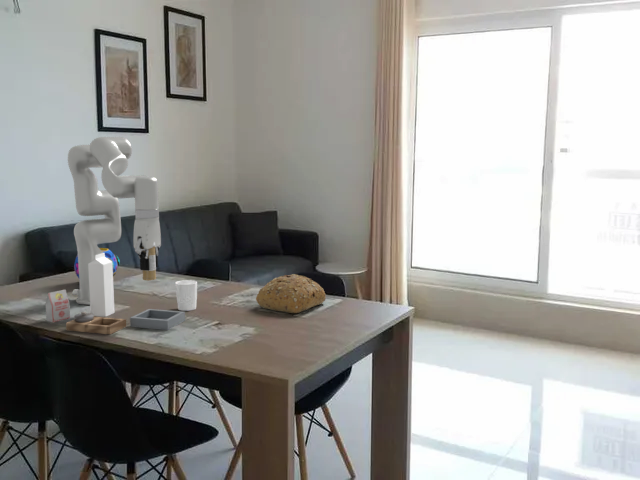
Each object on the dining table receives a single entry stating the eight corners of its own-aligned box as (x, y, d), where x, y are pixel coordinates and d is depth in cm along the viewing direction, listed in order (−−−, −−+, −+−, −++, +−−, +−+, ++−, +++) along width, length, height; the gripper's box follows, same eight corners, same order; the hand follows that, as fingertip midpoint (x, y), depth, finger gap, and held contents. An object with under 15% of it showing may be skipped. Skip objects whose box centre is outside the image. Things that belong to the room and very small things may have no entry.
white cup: (192, 311, 238) (192, 285, 237) (172, 310, 240) (171, 284, 238) (201, 306, 246) (200, 280, 245) (181, 305, 248) (180, 279, 246)
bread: (297, 317, 232) (297, 284, 230) (250, 309, 243) (249, 277, 241) (333, 303, 252) (333, 272, 250) (288, 296, 263) (288, 267, 262)
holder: (66, 330, 215) (65, 315, 214) (84, 322, 224) (83, 308, 223) (110, 334, 210) (109, 319, 210) (126, 326, 219) (125, 311, 219)
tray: (130, 326, 219) (130, 317, 219) (149, 317, 231) (148, 308, 230) (167, 330, 215) (167, 320, 215) (185, 320, 227) (184, 311, 226)
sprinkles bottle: (139, 279, 220) (138, 239, 218) (151, 277, 223) (150, 238, 221) (147, 281, 217) (146, 241, 215) (159, 279, 220) (158, 239, 218)
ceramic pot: (110, 288, 275) (109, 253, 273) (68, 288, 276) (66, 253, 273) (123, 279, 293) (122, 246, 290) (84, 279, 293) (82, 246, 291)
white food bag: (46, 320, 226) (44, 292, 225) (63, 316, 232) (62, 288, 230) (52, 322, 224) (51, 293, 223) (70, 318, 230) (68, 290, 228)
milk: (90, 316, 232) (86, 254, 229) (100, 311, 238) (96, 252, 235) (106, 317, 231) (102, 255, 228) (115, 312, 237) (112, 252, 233)
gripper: (151, 211, 226) (152, 263, 228) (122, 216, 210) (124, 272, 212) (170, 212, 223) (172, 264, 226) (143, 217, 207) (145, 274, 210)
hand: (149, 268), depth 219 cm, fingers closed on sprinkles bottle, 4 cm apart
